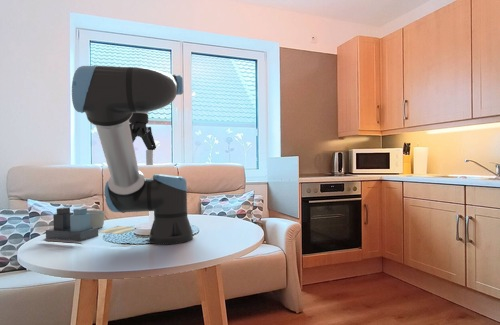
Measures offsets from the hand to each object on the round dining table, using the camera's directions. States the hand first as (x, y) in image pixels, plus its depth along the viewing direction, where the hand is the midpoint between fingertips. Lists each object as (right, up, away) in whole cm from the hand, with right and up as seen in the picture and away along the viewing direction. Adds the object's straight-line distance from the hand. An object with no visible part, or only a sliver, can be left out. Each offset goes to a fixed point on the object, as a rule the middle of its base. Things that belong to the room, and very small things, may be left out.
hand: (139, 165), depth 127 cm
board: (-7, -27, -2) cm, 28 cm away
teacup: (-21, -27, +1) cm, 35 cm away
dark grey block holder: (-20, -27, -13) cm, 36 cm away
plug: (-16, -27, -14) cm, 34 cm away
